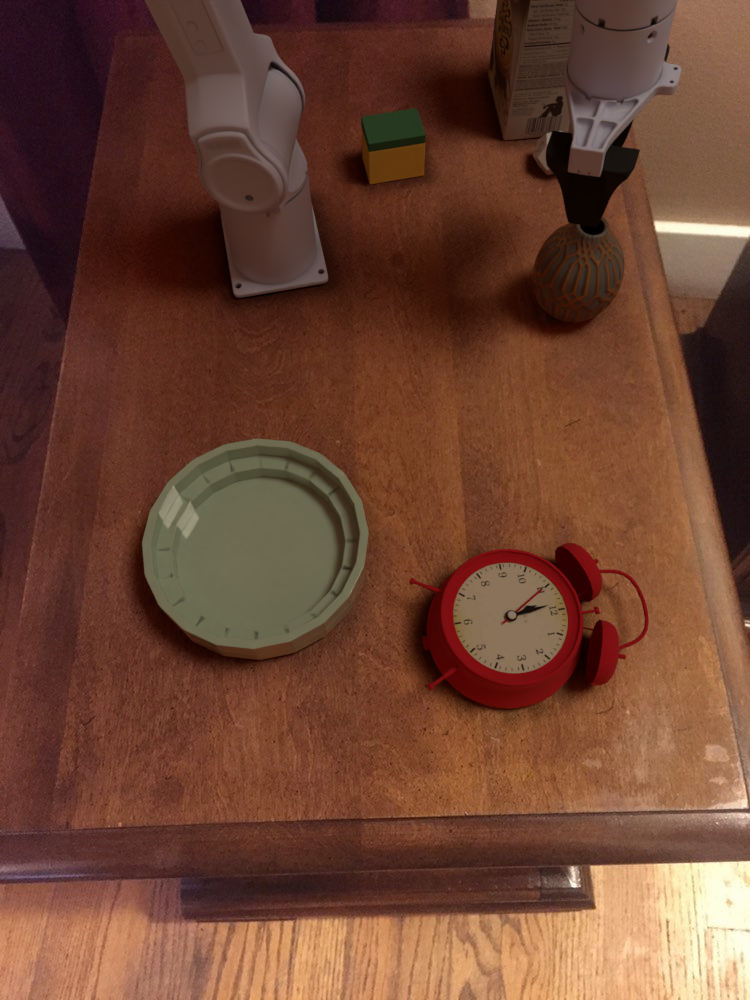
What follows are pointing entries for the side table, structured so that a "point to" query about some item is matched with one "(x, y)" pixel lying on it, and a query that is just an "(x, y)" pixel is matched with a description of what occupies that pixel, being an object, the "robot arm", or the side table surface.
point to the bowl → (257, 548)
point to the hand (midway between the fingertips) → (595, 182)
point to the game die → (542, 153)
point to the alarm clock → (520, 625)
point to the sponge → (393, 145)
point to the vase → (578, 271)
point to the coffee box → (531, 66)
